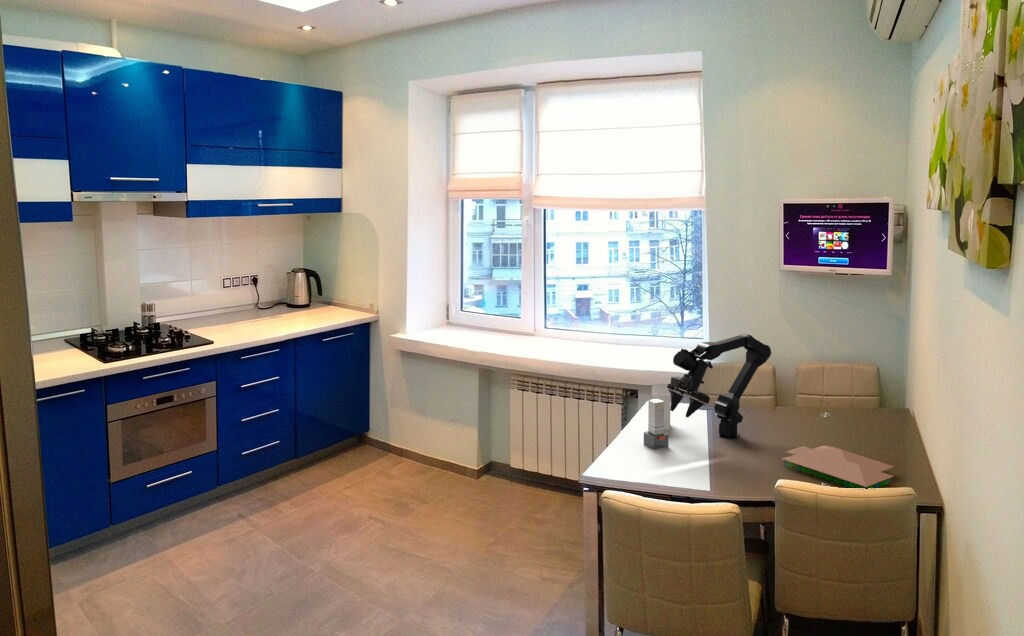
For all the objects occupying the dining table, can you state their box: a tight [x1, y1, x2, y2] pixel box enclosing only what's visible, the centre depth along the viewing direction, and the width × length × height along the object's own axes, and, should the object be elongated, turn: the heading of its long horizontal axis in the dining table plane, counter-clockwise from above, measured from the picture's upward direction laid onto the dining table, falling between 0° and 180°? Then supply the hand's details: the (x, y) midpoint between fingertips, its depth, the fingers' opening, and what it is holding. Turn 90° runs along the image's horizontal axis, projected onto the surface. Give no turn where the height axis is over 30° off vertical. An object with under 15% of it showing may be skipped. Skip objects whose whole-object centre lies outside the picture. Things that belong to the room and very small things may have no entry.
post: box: [647, 399, 665, 436], centre depth 267 cm, size 4×4×13 cm
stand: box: [643, 430, 670, 450], centre depth 269 cm, size 10×10×6 cm
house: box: [781, 445, 895, 489], centre depth 242 cm, size 23×33×8 cm
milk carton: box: [651, 382, 671, 431], centre depth 290 cm, size 7×7×19 cm
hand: (679, 413), depth 271 cm, fingers open, 9 cm apart
